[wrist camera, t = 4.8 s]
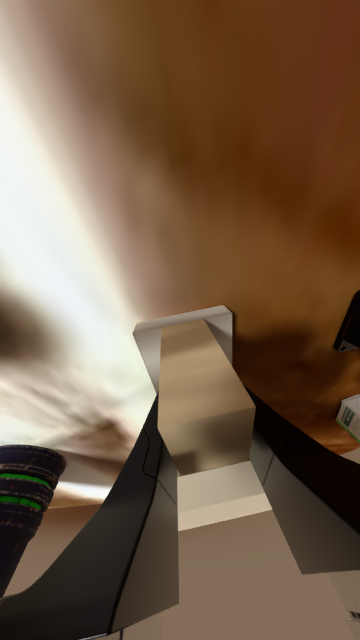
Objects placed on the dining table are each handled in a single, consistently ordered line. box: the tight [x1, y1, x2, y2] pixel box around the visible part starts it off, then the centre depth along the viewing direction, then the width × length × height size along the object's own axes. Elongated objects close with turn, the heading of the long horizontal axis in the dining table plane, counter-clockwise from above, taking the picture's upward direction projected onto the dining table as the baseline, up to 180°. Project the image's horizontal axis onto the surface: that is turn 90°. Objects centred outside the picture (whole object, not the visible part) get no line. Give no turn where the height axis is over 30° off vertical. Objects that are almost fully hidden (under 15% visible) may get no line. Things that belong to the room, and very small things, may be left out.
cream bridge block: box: [177, 461, 272, 531], centre depth 19 cm, size 20×9×6 cm, turn 101°
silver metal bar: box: [133, 305, 256, 476], centre depth 13 cm, size 24×7×8 cm, turn 10°
